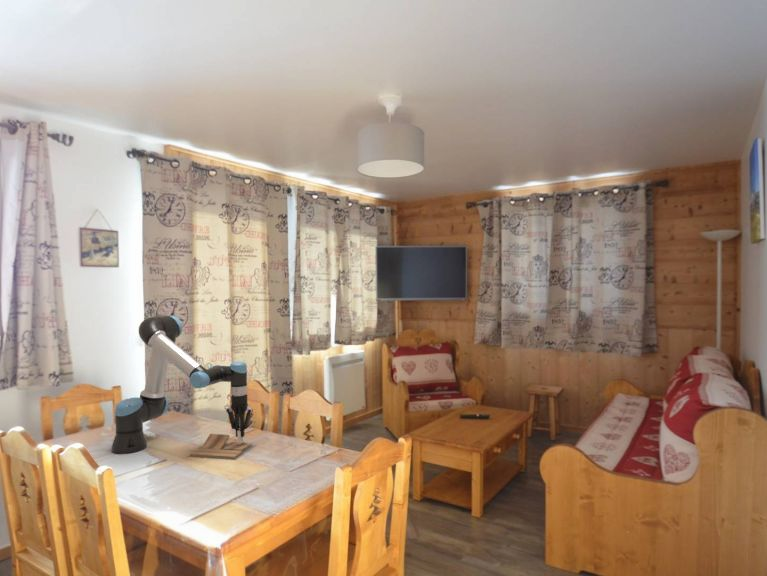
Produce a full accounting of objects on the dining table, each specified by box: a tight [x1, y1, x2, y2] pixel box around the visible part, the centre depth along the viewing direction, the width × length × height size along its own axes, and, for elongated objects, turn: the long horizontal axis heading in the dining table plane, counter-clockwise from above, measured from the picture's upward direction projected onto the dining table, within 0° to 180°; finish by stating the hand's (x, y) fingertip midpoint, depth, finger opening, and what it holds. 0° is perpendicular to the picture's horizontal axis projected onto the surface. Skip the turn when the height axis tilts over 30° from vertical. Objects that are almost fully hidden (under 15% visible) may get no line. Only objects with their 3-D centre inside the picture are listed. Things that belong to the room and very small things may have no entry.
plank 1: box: [201, 433, 230, 449], centre depth 231 cm, size 10×9×1 cm
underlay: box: [186, 442, 257, 461], centre depth 227 cm, size 24×20×2 cm
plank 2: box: [222, 441, 252, 451], centre depth 230 cm, size 10×9×1 cm
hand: (240, 443), depth 233 cm, fingers closed
